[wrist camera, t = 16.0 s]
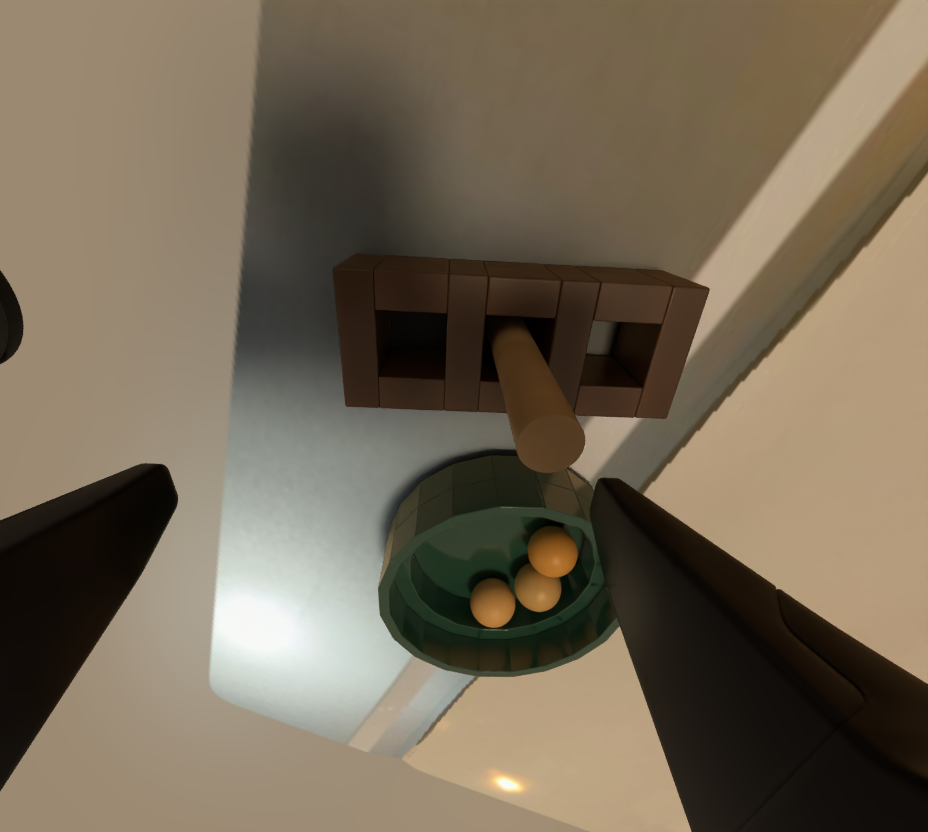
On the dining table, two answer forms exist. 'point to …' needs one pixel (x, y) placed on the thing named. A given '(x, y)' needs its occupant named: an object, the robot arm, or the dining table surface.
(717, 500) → the dining table surface
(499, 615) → the bead
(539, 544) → the bead
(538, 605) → the bead
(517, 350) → the stick
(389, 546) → the bowl
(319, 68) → the dining table surface
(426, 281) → the rack
